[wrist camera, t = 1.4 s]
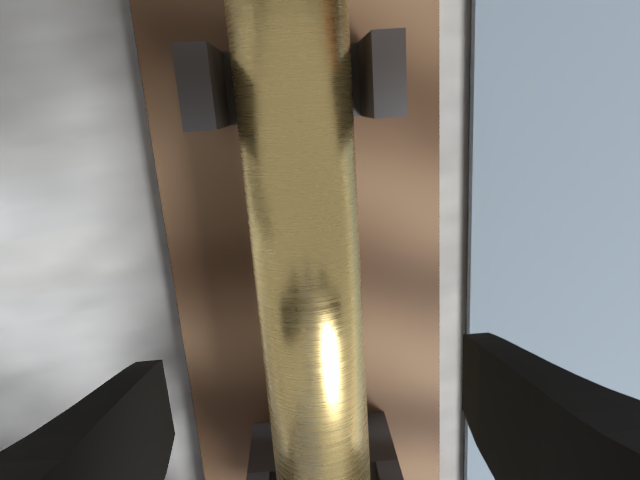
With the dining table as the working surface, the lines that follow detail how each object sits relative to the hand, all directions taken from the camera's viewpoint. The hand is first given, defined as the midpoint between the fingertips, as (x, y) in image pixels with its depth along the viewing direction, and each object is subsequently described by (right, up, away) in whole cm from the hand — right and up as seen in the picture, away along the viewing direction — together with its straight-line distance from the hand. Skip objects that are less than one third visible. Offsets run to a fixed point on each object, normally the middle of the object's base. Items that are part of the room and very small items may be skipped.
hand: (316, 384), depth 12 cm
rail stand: (0, +2, +8) cm, 8 cm away
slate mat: (+11, +3, +8) cm, 14 cm away
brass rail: (0, +1, +3) cm, 3 cm away
